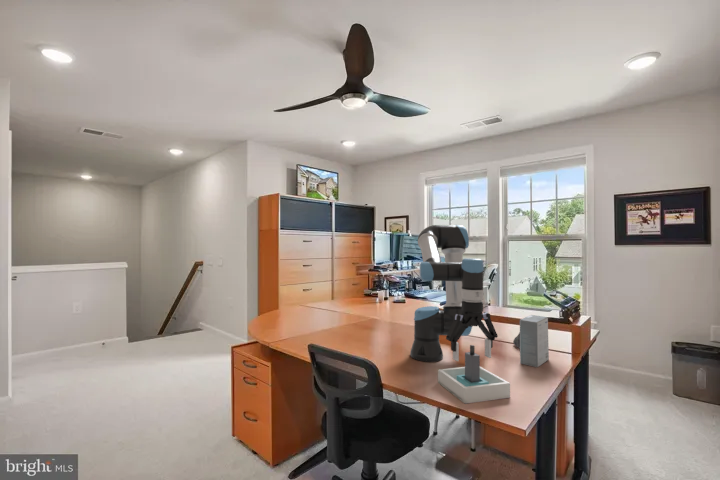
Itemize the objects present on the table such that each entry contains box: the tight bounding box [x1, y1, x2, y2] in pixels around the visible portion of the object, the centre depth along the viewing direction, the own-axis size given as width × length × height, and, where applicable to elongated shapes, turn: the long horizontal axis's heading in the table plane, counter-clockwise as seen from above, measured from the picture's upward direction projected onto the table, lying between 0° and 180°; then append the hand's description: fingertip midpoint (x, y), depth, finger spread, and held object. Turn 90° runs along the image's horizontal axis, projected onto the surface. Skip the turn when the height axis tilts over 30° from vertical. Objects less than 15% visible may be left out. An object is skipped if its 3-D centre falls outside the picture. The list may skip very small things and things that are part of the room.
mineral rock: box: [512, 331, 520, 349], centre depth 174 cm, size 13×11×10 cm
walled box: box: [437, 366, 511, 404], centre depth 123 cm, size 18×18×5 cm
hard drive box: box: [519, 314, 550, 368], centre depth 154 cm, size 16×8×20 cm, turn 134°
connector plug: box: [464, 344, 481, 383], centre depth 123 cm, size 4×3×15 cm
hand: (472, 358), depth 123 cm, fingers open, 13 cm apart
